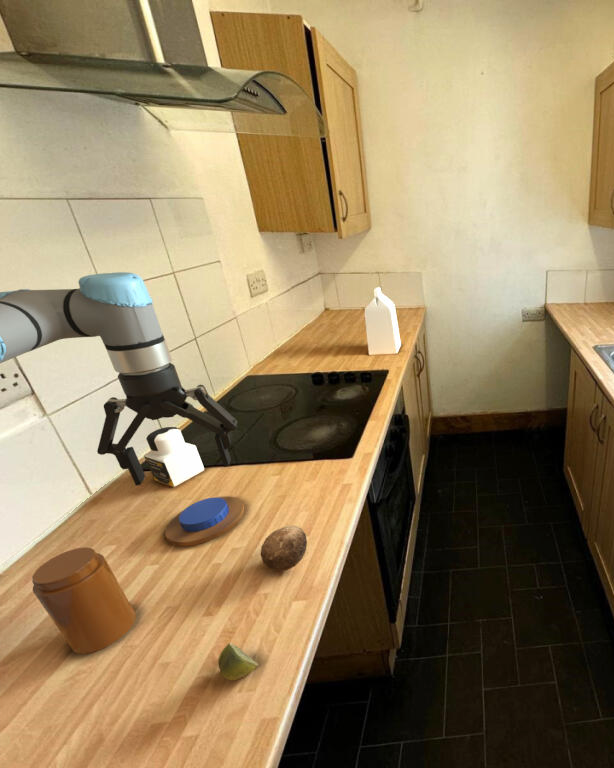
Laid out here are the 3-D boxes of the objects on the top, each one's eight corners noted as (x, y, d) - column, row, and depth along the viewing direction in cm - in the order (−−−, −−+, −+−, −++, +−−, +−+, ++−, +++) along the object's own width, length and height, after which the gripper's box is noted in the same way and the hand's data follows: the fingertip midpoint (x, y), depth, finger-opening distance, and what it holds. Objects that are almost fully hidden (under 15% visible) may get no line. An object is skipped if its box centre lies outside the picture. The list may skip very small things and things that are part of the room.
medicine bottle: (154, 480, 96) (134, 436, 91) (186, 463, 102) (169, 421, 97) (174, 487, 94) (154, 442, 89) (205, 470, 100) (189, 426, 95)
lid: (237, 505, 87) (235, 498, 86) (209, 533, 79) (206, 525, 79) (202, 503, 87) (199, 496, 86) (171, 530, 80) (168, 523, 79)
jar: (57, 652, 60) (10, 584, 54) (106, 607, 66) (68, 543, 61) (103, 656, 59) (60, 588, 54) (148, 610, 66) (113, 545, 60)
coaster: (149, 544, 78) (147, 540, 78) (201, 498, 90) (200, 495, 90) (213, 548, 77) (211, 544, 77) (258, 501, 89) (257, 497, 89)
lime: (234, 656, 59) (223, 632, 57) (269, 654, 59) (259, 630, 57) (215, 690, 55) (203, 666, 53) (252, 687, 55) (242, 663, 53)
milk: (374, 345, 183) (365, 286, 173) (400, 344, 185) (393, 285, 174) (368, 354, 173) (359, 292, 162) (397, 353, 174) (389, 291, 163)
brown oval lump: (306, 519, 79) (286, 512, 74) (325, 552, 76) (305, 547, 70) (269, 548, 78) (246, 544, 72) (287, 584, 74) (264, 581, 69)
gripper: (234, 350, 78) (262, 446, 87) (58, 371, 68) (108, 477, 77) (229, 363, 72) (259, 465, 80) (34, 389, 62) (92, 502, 71)
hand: (185, 471), depth 79 cm, fingers open, 13 cm apart
